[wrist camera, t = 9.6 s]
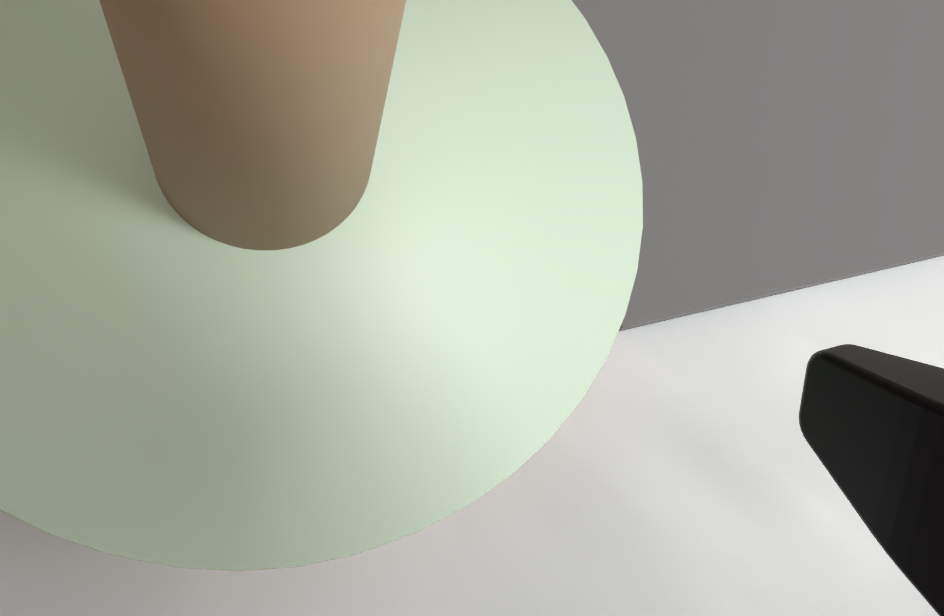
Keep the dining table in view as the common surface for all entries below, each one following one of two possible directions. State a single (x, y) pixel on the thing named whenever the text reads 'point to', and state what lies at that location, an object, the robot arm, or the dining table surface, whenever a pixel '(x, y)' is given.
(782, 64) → the mat
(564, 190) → the peg stand
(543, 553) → the dining table surface
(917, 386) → the robot arm
